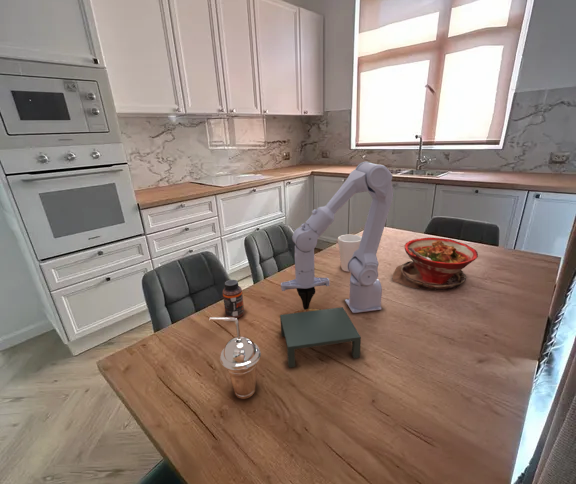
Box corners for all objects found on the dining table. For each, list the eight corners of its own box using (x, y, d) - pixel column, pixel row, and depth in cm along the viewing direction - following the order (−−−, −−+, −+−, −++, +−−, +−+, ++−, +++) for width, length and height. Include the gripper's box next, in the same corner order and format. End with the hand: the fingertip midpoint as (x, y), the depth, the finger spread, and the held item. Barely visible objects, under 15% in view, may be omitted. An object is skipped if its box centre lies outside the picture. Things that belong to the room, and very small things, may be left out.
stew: (423, 303, 100) (429, 256, 94) (379, 273, 121) (382, 234, 115) (489, 286, 108) (499, 242, 102) (437, 261, 129) (442, 224, 123)
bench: (342, 325, 91) (342, 306, 88) (359, 357, 78) (361, 336, 75) (281, 333, 88) (280, 314, 86) (288, 367, 76) (287, 347, 73)
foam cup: (364, 266, 128) (366, 236, 123) (356, 275, 120) (357, 243, 115) (342, 262, 132) (343, 233, 127) (333, 270, 125) (334, 240, 120)
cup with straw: (255, 410, 65) (246, 330, 57) (216, 401, 67) (202, 323, 59) (269, 380, 72) (263, 305, 64) (234, 373, 75) (223, 300, 67)
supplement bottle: (240, 320, 95) (236, 287, 91) (222, 318, 97) (217, 286, 92) (247, 309, 101) (243, 278, 96) (229, 308, 102) (225, 277, 98)
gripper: (325, 260, 96) (325, 298, 101) (278, 265, 94) (280, 303, 99) (331, 269, 89) (331, 310, 95) (281, 275, 88) (284, 316, 93)
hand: (305, 307), depth 96 cm, fingers closed, pressing on pastry
